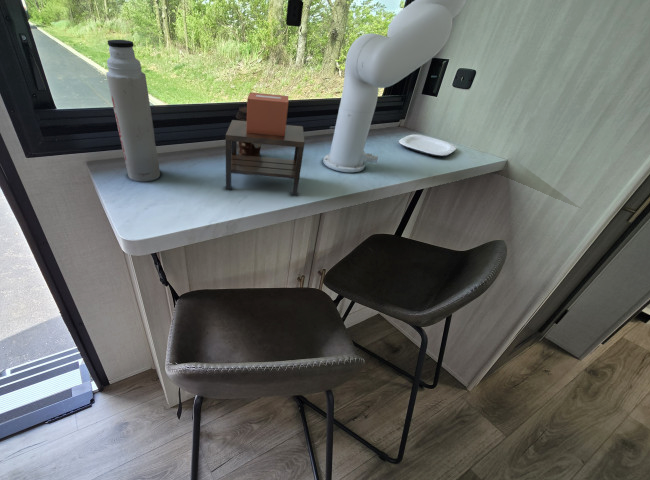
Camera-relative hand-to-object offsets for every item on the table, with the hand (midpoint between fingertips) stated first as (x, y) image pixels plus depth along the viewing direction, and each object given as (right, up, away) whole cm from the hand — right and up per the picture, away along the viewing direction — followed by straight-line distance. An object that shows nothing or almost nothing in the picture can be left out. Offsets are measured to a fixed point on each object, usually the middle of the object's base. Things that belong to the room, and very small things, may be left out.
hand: (293, 24), depth 73 cm
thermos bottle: (-38, -30, +12) cm, 50 cm away
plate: (+52, -9, +44) cm, 69 cm away
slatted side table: (-7, -31, +13) cm, 35 cm away
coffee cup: (-11, -19, +26) cm, 34 cm away
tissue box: (-6, -22, +4) cm, 23 cm away
